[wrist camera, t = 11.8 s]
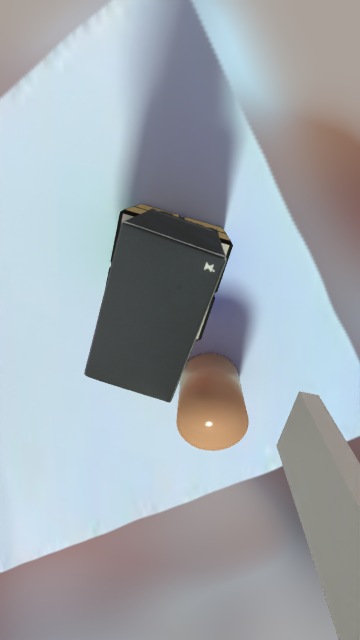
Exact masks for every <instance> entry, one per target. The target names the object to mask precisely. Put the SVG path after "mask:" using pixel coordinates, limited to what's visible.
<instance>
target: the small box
mask: <svg viewBox="0 0 360 640" xmlns="http://www.w3.org/2000/svg"><path fill="white" fill-rule="evenodd" d="M226 262H227V258H226V255H225V253H224V250H223V246H222V244H221V241H220V238H219V233H218V230H217V229H214V228H210V227H205V226H203V225H199V224H198V223H193V222H192V221H188V220H185V219H183V218H180V217H177V216H174V215H173V214H171V213H168V212H164V211H159V210H156V209H150V210H148V211H146V212H144V213H142V214H139V215H137V216H135V217H132V218H130V219H128V220H125V221H122V223H121V226H120V230H119V235H118V238H117V242H116V247H115V251H114V255H113V259H112V263H111V267H110V271H109V276H108V280H107V284H106V288H105V292H104V296H103V300H102V304H101V309H100V313H99V317H98V321H97V325H96V329H95V333H94V337H93V341H92V345H91V349H90V353H89V357H88V361H87V365H86V369H85V373H84V374H85V375H86V376H88V377H90V378H93V379H96V380H99V381H102V382H105V383H108V384H112V385H114V386H118V387H121V388H124V389H127V390H131V391H134V392H137V393H140V394H143V395H147V396H150V397H153V398H157V399H160V400H163V401H166V402H171V401H172V398H173V396H174V393H175V391H176V388H177V386H178V383H179V381H180V378H181V376H182V373H183V370H184V368H185V366H186V363H187V361H188V358H189V356H190V353H191V350H192V348H193V346H194V343H195V341H196V338H197V335H198V333H199V330H200V328H201V325H202V323H203V320H204V317H205V315H206V312H207V310H208V307H209V305H210V302H211V300H212V298H213V295H214V292H215V290H216V287H217V285H218V282H219V279H220V277H221V274H222V272H223V269H224V267H225V264H226Z"/></svg>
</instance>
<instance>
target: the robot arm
mask: <svg viewBox="0 0 360 640" xmlns="http://www.w3.org/2000/svg"><path fill="white" fill-rule="evenodd" d="M277 449H278V452H279V455H280V458H281V461H282V464H283V467H284V470H285V474H286V476H287V480H288V483H289V486H290V489H291V492H292V495H293V499H294V502H295V505H296V508H297V511H298V514H299V517H300V520H301V524H302V527H303V530H304V533H305V536H306V539H307V542H308V545H309V548H310V551H311V555H312V558H313V561H314V564H315V567H316V570H317V574H318V577H319V579H320V583H321V586H322V589H323V592H324V595H325V599H326V602H327V605H328V608H329V611H330V614H331V617H332V620H333V624H334V626H335V629H336V633H337V636H338V639H339V640H360V464H359V462H358V460H357V459H356V457H355V455H354V454H353V452H352V450H351V449H350V447H349V445H348V444H347V442H346V440H345V439H344V437H343V435H342V434H341V432H340V430H339V429H338V427H337V425H336V424H335V422H334V420H333V419H332V417H331V415H330V414H329V412H328V410H327V409H326V407H325V405H324V404H323V402H322V400H321V399H320V397H319V395H314V394H309V393H304V392H299V393H298V396H297V398H296V401H295V403H294V405H293V408H292V410H291V412H290V415H289V417H288V420H287V422H286V424H285V427H284V429H283V431H282V434H281V436H280V439H279V441H278V443H277Z"/></svg>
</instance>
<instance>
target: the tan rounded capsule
mask: <svg viewBox="0 0 360 640" xmlns="http://www.w3.org/2000/svg"><path fill="white" fill-rule="evenodd" d="M177 428H178V431H179V433H180V435H181V436H182V437H183V439H184V440H185V441H187V442H188V443H189V444H191V445H192V446H194V447H197V448H199V449H203V450H222V449H226V448H229V447H231V446H233V445H235V444H236V443H238V442H239V441H240V440H241V439H242V438H243V436H244V435H245V433H246V431H247V428H248V415H247V411H246V406H245V402H244V397H243V393H242V388H241V384H240V379H239V375H238V371H237V368H236V367H235V365H234V364H233V363H232V362H231V361H230V360H229V359H228V358H226V357H224V356H222V355H219V354H215V353H204V354H200V355H197V356H195V357H193V358H192V359H190V360H189V361H188V362H187V363H186V366H185V368H184V370H183V373H182V376H181V378H180V388H179V400H178V411H177Z"/></svg>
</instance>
